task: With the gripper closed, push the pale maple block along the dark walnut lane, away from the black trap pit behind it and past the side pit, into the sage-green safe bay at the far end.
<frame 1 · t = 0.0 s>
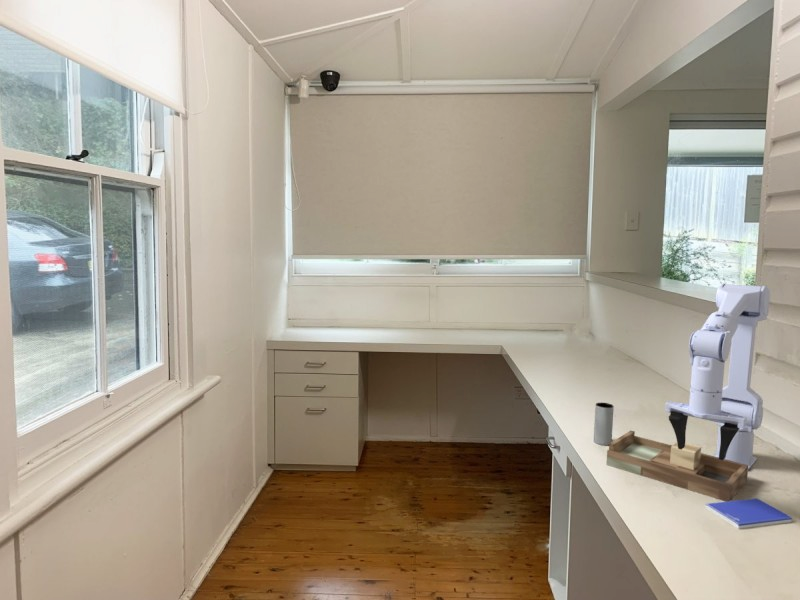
hand: (701, 453, 111), 10 cm above the worktop, fingers open, 7 cm apart
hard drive: (746, 518, 106), on the worktop
planter: (602, 443, 144), on the worktop
maple block: (684, 463, 126), point 2 cm above the worktop, touching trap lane
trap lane: (674, 472, 126), on the worktop
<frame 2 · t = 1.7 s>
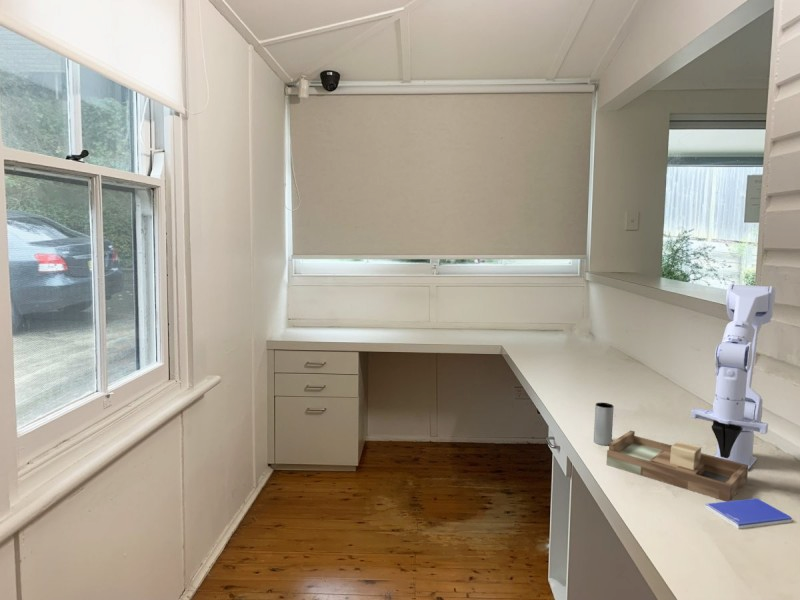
hand: (725, 456, 120), 6 cm above the worktop, fingers closed
nothing on the worktop moved.
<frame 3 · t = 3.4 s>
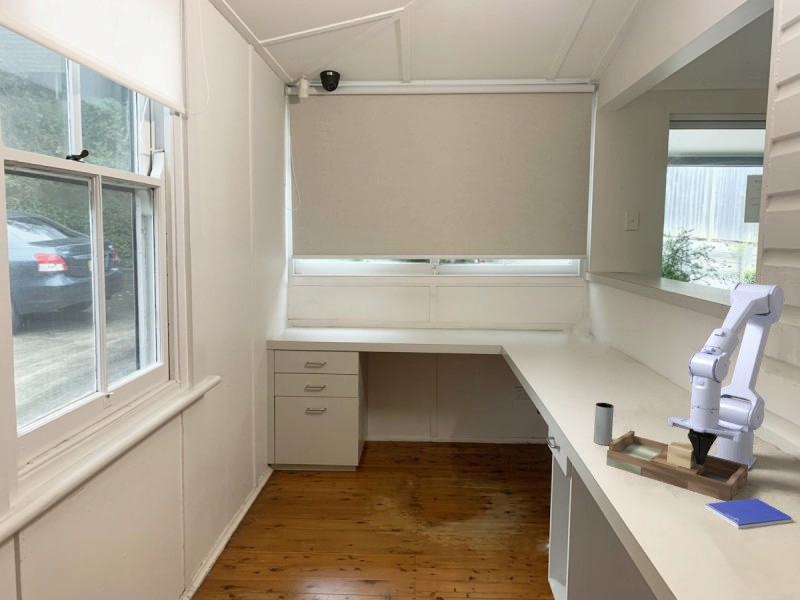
hand: (700, 463, 123), 3 cm above the worktop, fingers closed
maple block: (681, 462, 126), point 2 cm above the worktop, touching gripper
everything else where it was.
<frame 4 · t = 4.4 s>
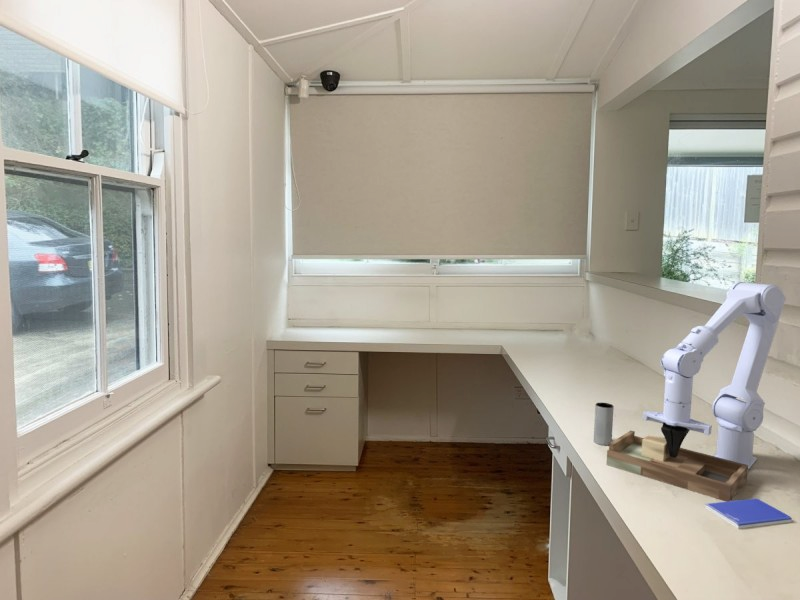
hand: (673, 456, 127), 3 cm above the worktop, fingers closed
maple block: (655, 455, 130), point 2 cm above the worktop, touching gripper
everything else where it was.
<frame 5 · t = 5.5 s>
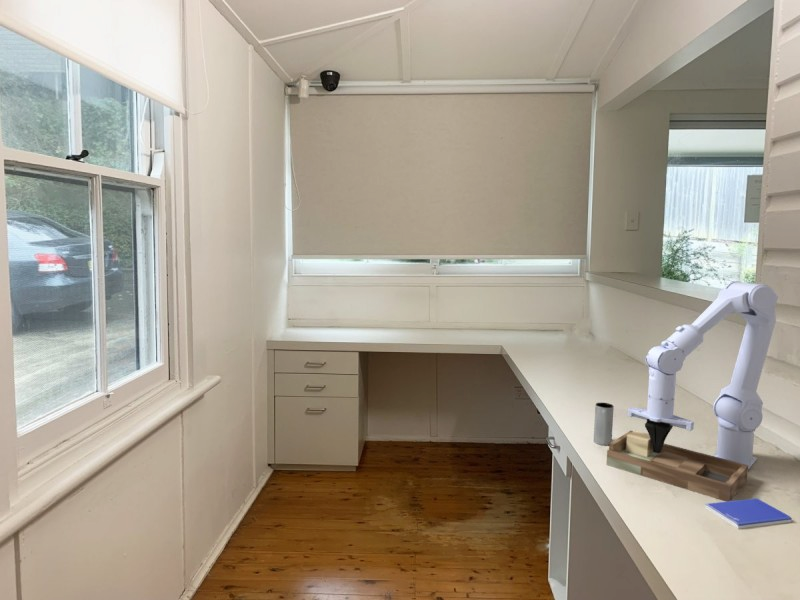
hand: (657, 451, 130), 3 cm above the worktop, fingers closed
maple block: (640, 451, 133), point 2 cm above the worktop, touching gripper, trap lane
everything else where it was.
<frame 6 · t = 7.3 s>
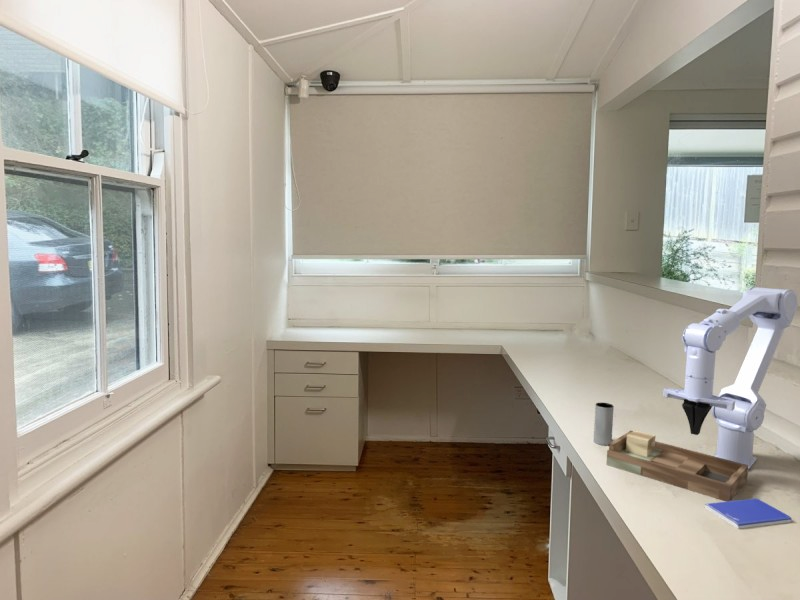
hand: (695, 433, 125), 9 cm above the worktop, fingers closed
maple block: (640, 451, 133), point 2 cm above the worktop, touching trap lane
everything else where it was.
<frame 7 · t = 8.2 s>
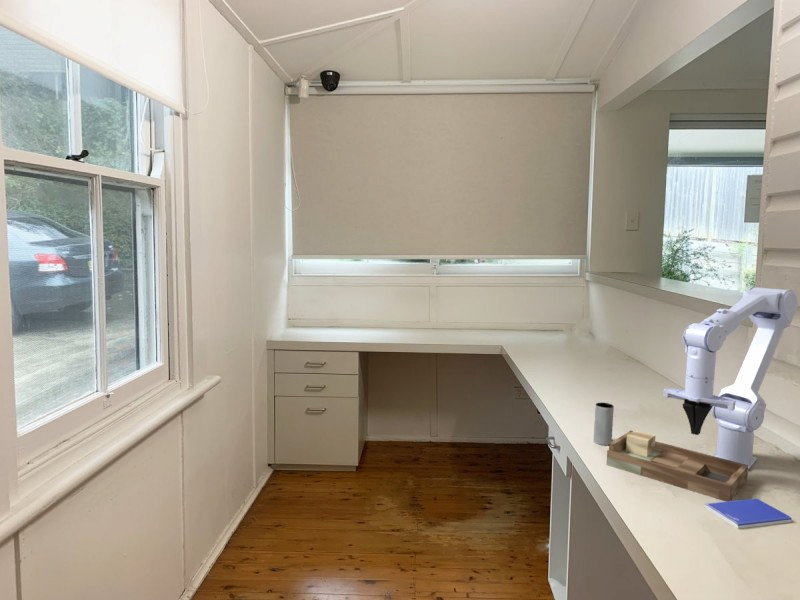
hand: (695, 433, 125), 9 cm above the worktop, fingers closed
nothing on the worktop moved.
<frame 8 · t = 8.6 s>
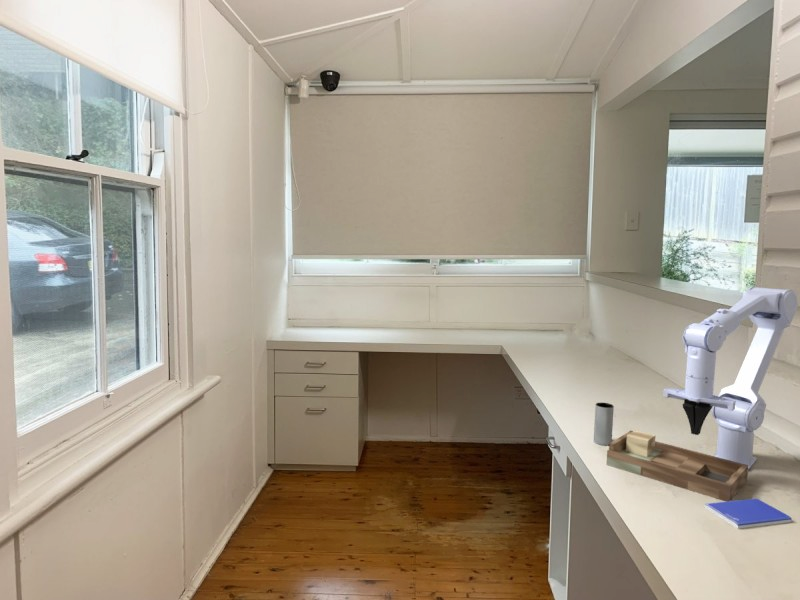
hand: (695, 433, 125), 9 cm above the worktop, fingers closed
nothing on the worktop moved.
at the end: maple block 0.2 cm from the target spot on the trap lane, point 2.0 cm above the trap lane's base; maple block tilted 0° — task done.
